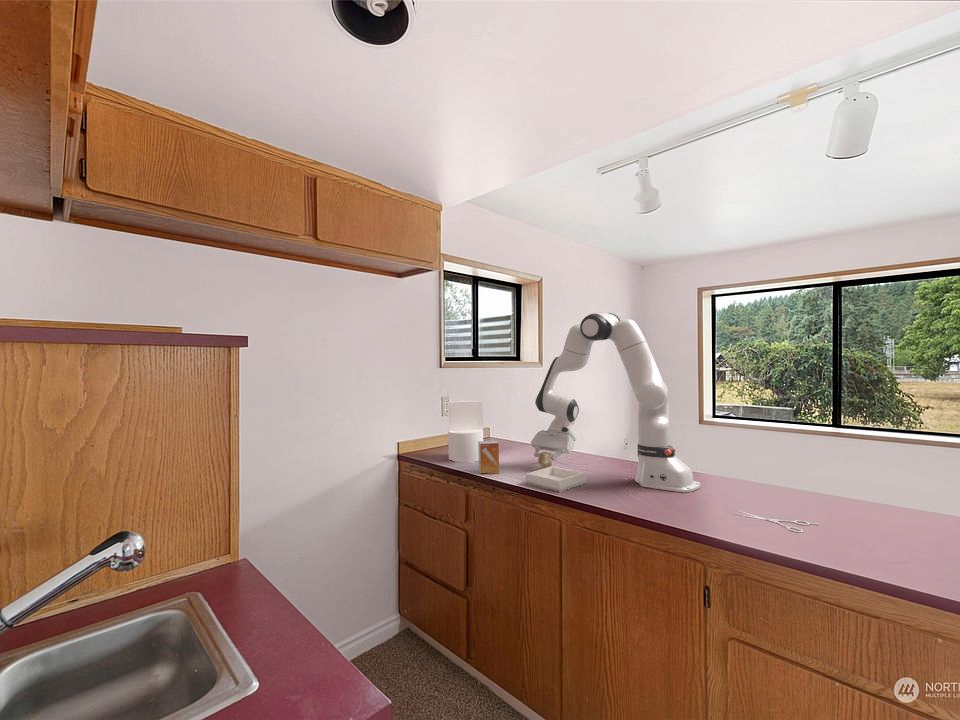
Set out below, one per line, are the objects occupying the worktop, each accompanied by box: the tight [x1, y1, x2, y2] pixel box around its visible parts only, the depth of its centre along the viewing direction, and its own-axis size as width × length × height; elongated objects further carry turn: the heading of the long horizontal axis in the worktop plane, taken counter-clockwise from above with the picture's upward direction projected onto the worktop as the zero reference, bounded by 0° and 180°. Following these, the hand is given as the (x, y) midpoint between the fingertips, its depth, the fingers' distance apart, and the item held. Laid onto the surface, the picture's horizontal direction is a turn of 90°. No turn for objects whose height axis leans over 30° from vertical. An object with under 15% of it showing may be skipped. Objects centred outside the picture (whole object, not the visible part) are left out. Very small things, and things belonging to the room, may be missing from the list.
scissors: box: [735, 510, 819, 534], centre depth 125 cm, size 11×1×20 cm
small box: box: [478, 440, 500, 474], centre depth 189 cm, size 8×6×13 cm
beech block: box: [537, 451, 553, 470], centre depth 189 cm, size 4×4×8 cm
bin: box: [525, 465, 587, 493], centre depth 168 cm, size 16×16×4 cm
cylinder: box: [446, 399, 484, 463], centre depth 217 cm, size 17×17×28 cm
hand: (544, 457), depth 189 cm, fingers open, 8 cm apart
